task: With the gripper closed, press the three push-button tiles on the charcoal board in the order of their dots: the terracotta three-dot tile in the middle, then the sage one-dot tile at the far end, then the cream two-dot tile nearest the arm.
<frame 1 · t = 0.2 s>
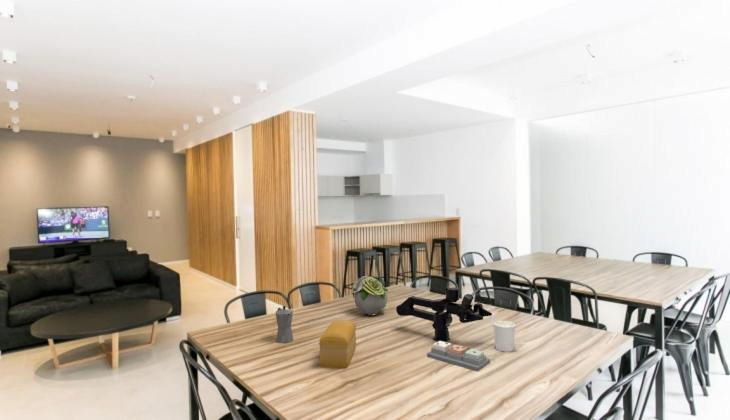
hand: (487, 316, 187), 17 cm above the table, tool horizontal, fingers open, 9 cm apart
flower arrangement: (371, 314, 253), on the table
tile three dots: (457, 350, 179), point 4 cm above the table, slide at 0.0 cm
tile two dots: (442, 346, 184), point 4 cm above the table, slide at 0.0 cm
bread: (339, 357, 184), on the table
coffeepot: (284, 340, 208), on the table
tile one dot: (474, 354, 173), point 4 cm above the table, slide at 0.0 cm
candle holder: (504, 348, 191), on the table
button board: (457, 359, 179), on the table
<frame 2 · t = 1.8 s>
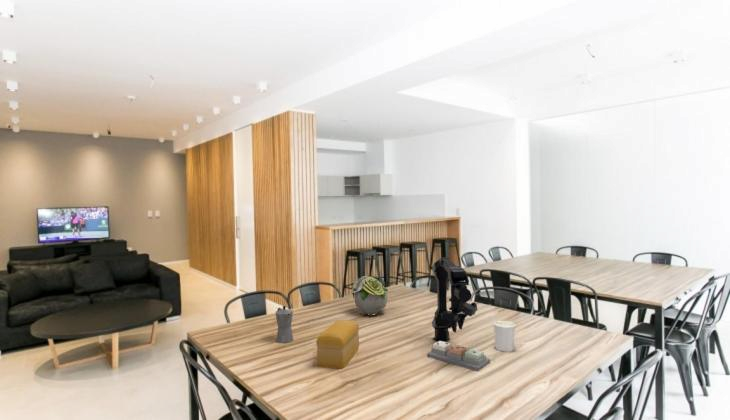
hand: (457, 330, 178), 13 cm above the table, tool pointing down, fingers open, 5 cm apart
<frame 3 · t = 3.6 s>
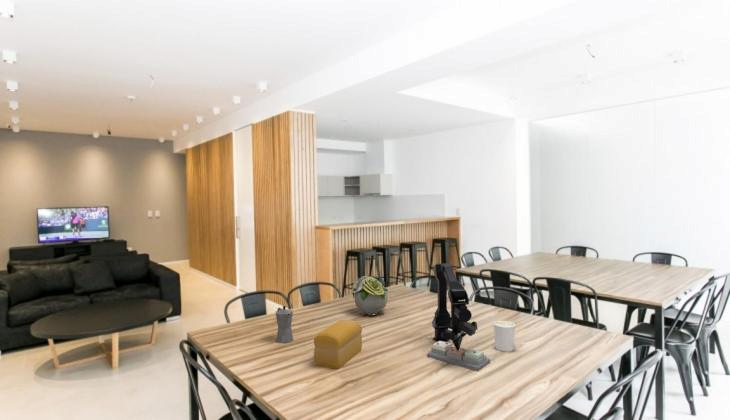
hand: (457, 349, 179), 4 cm above the table, tool pointing down, fingers closed, pressing on tile three dots
tile three dots: (457, 352, 179), point 3 cm above the table, slide at 1.0 cm, touching gripper
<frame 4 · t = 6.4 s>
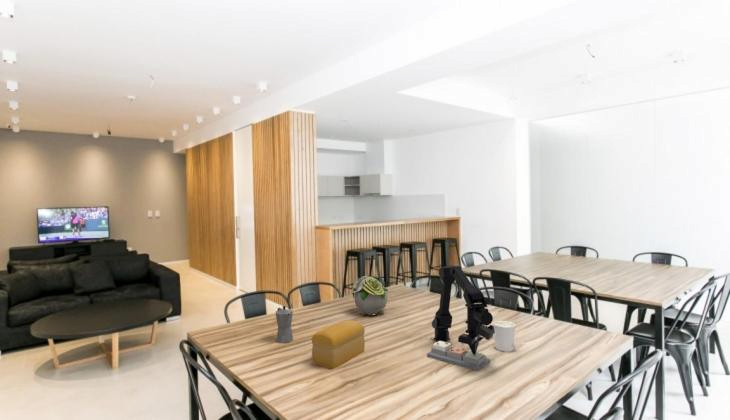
hand: (474, 354, 173), 4 cm above the table, tool pointing down, fingers closed, pressing on tile one dot
tile three dots: (457, 352, 179), point 3 cm above the table, slide at 1.1 cm
tile one dot: (474, 357, 173), point 3 cm above the table, slide at 1.0 cm, touching gripper
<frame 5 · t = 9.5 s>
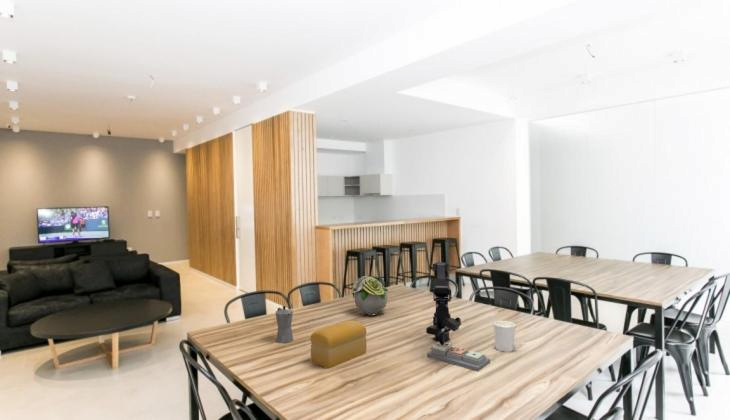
hand: (442, 344, 184), 5 cm above the table, tool pointing down, fingers closed, pressing on tile two dots
tile two dots: (442, 347, 184), point 4 cm above the table, slide at 0.5 cm, touching gripper
tile one dot: (474, 357, 173), point 3 cm above the table, slide at 1.1 cm
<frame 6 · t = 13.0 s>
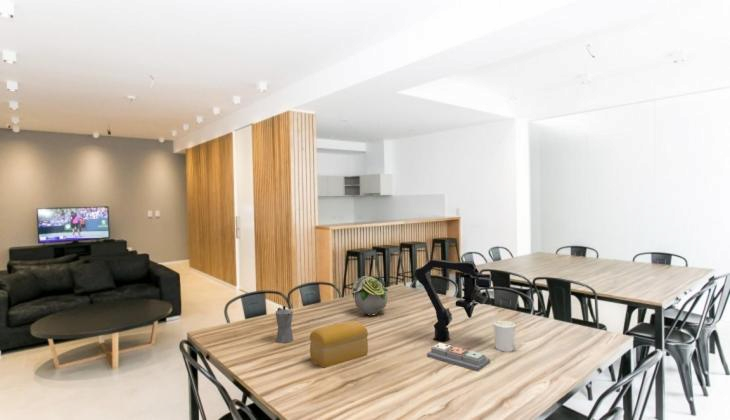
hand: (469, 317, 198), 13 cm above the table, tool pointing down, fingers closed
tile two dots: (442, 348, 184), point 3 cm above the table, slide at 1.0 cm
at the end: tile three dots slide at 1.1 cm; tile one dot slide at 1.1 cm; tile two dots slide at 1.0 cm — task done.
